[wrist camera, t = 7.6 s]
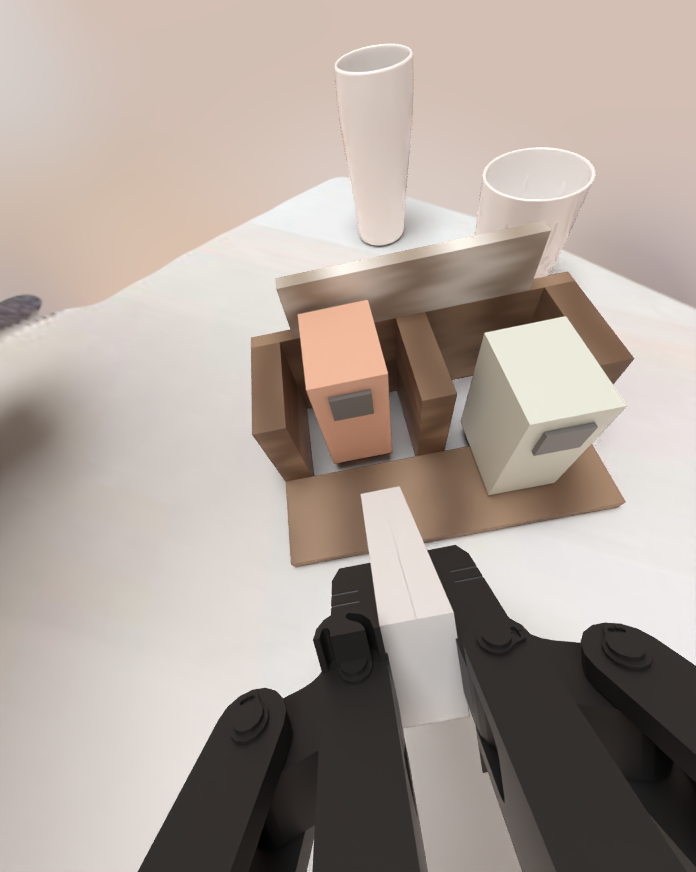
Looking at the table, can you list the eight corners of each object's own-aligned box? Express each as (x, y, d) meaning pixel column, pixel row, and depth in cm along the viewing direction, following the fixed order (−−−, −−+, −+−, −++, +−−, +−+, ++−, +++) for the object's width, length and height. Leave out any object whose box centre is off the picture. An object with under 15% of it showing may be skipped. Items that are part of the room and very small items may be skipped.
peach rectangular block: (334, 467, 26) (306, 394, 19) (324, 399, 30) (297, 314, 22) (392, 455, 26) (389, 378, 19) (376, 389, 30) (367, 299, 22)
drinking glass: (341, 239, 43) (316, 67, 30) (379, 212, 45) (370, 40, 32) (383, 259, 40) (375, 78, 27) (422, 229, 42) (431, 46, 29)
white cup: (544, 260, 37) (588, 143, 28) (550, 314, 33) (603, 198, 24) (465, 260, 38) (483, 150, 30) (462, 311, 35) (482, 202, 26)
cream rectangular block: (490, 499, 24) (532, 430, 16) (460, 421, 27) (484, 332, 19) (556, 487, 24) (631, 411, 16) (518, 410, 27) (565, 316, 19)
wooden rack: (294, 566, 24) (217, 511, 14) (283, 403, 32) (226, 288, 21) (617, 507, 24) (782, 402, 13) (530, 354, 31) (595, 209, 21)
